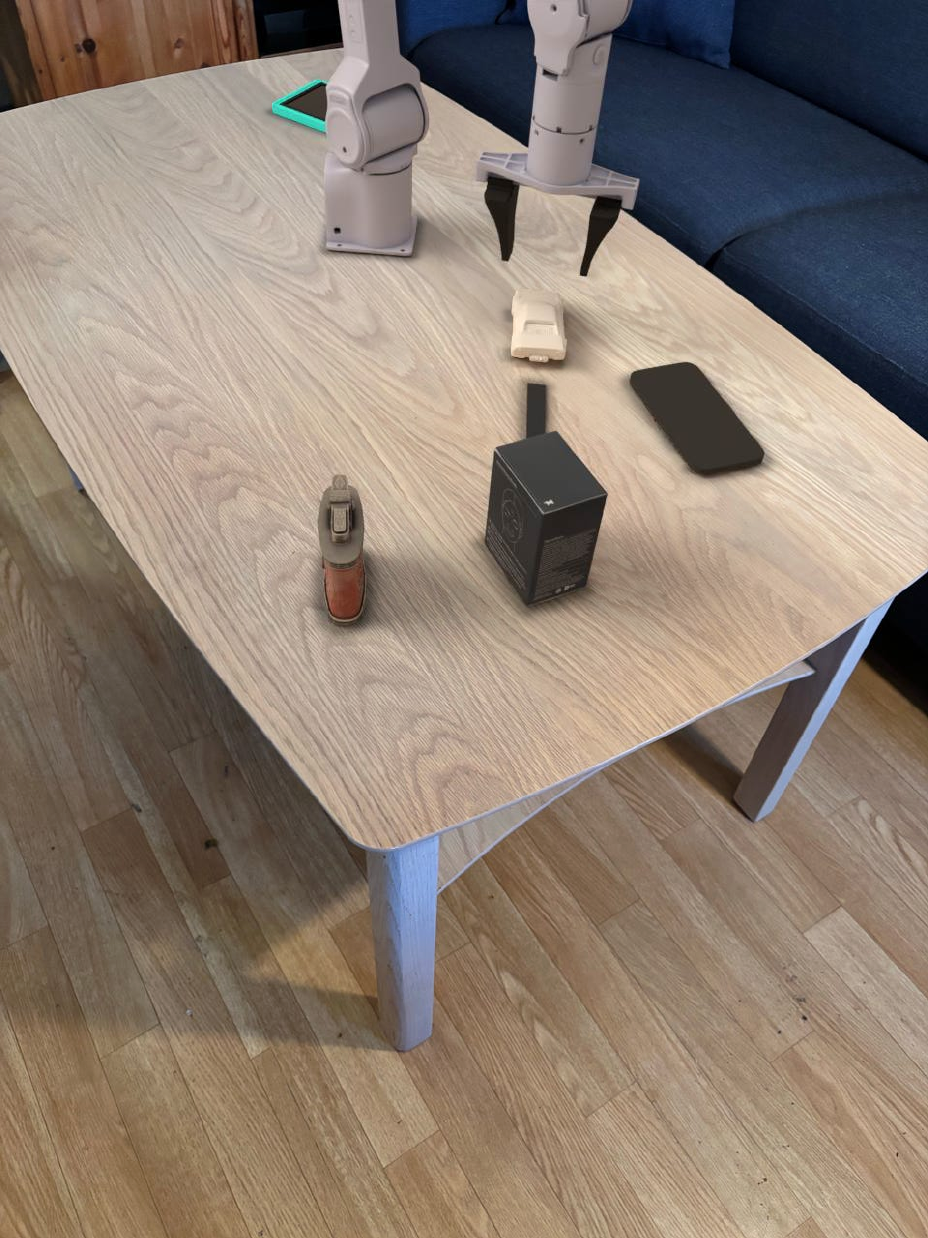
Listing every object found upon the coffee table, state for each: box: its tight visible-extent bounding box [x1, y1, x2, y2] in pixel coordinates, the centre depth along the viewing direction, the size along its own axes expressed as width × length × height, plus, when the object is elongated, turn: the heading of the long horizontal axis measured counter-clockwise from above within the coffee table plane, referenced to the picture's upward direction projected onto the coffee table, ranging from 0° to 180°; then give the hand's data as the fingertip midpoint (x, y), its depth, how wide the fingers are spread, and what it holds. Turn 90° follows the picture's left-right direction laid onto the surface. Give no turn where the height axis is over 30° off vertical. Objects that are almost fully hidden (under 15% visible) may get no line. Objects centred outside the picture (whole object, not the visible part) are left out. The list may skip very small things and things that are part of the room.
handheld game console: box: [271, 78, 329, 134], centre depth 126 cm, size 10×16×1 cm, turn 57°
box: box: [484, 430, 609, 607], centre depth 75 cm, size 8×6×11 cm
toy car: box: [510, 288, 568, 363], centre depth 98 cm, size 6×12×3 cm, turn 178°
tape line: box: [525, 382, 547, 439], centre depth 89 cm, size 2×15×1 cm, turn 177°
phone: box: [629, 361, 766, 476], centre depth 91 cm, size 7×1×15 cm
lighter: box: [317, 473, 368, 629], centre depth 73 cm, size 8×3×10 cm, turn 5°
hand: (545, 263), depth 93 cm, fingers open, 7 cm apart
